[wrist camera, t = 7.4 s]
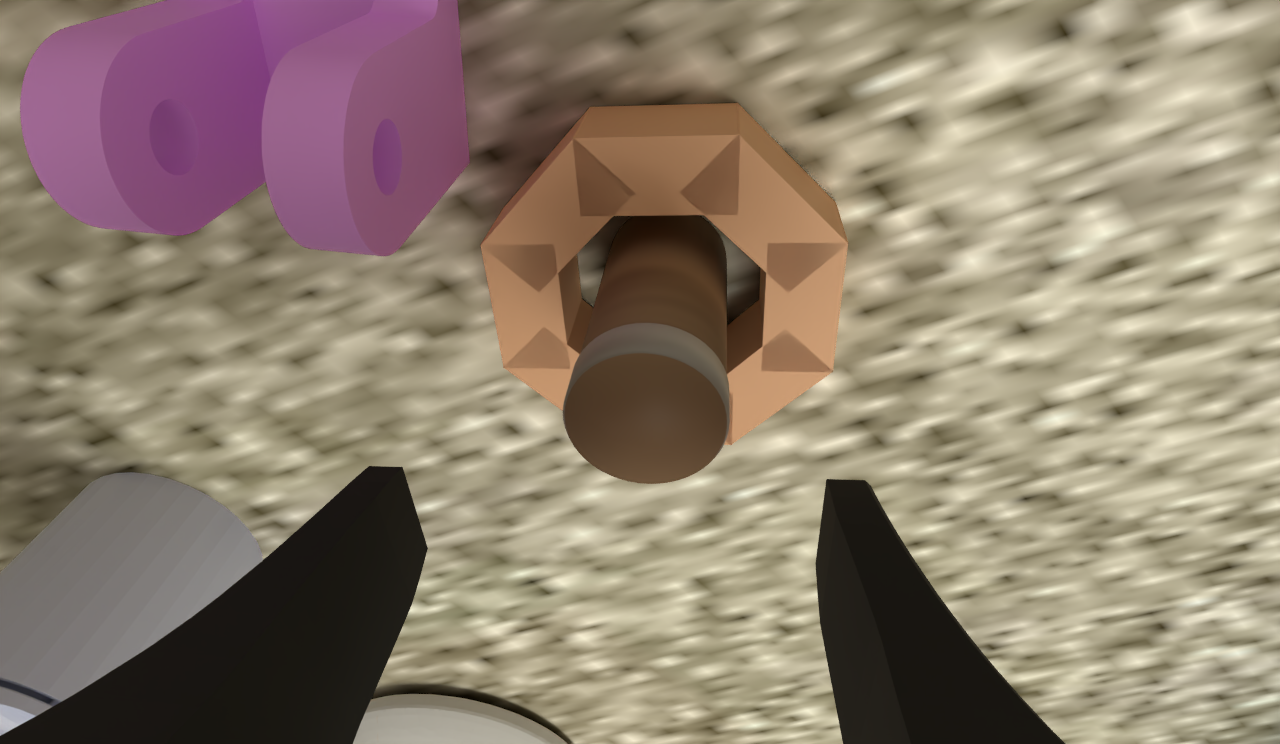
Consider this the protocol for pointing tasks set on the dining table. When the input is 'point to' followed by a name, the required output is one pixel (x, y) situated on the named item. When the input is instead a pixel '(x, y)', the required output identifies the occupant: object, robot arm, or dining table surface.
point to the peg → (655, 354)
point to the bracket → (253, 116)
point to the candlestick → (446, 722)
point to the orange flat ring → (673, 185)
